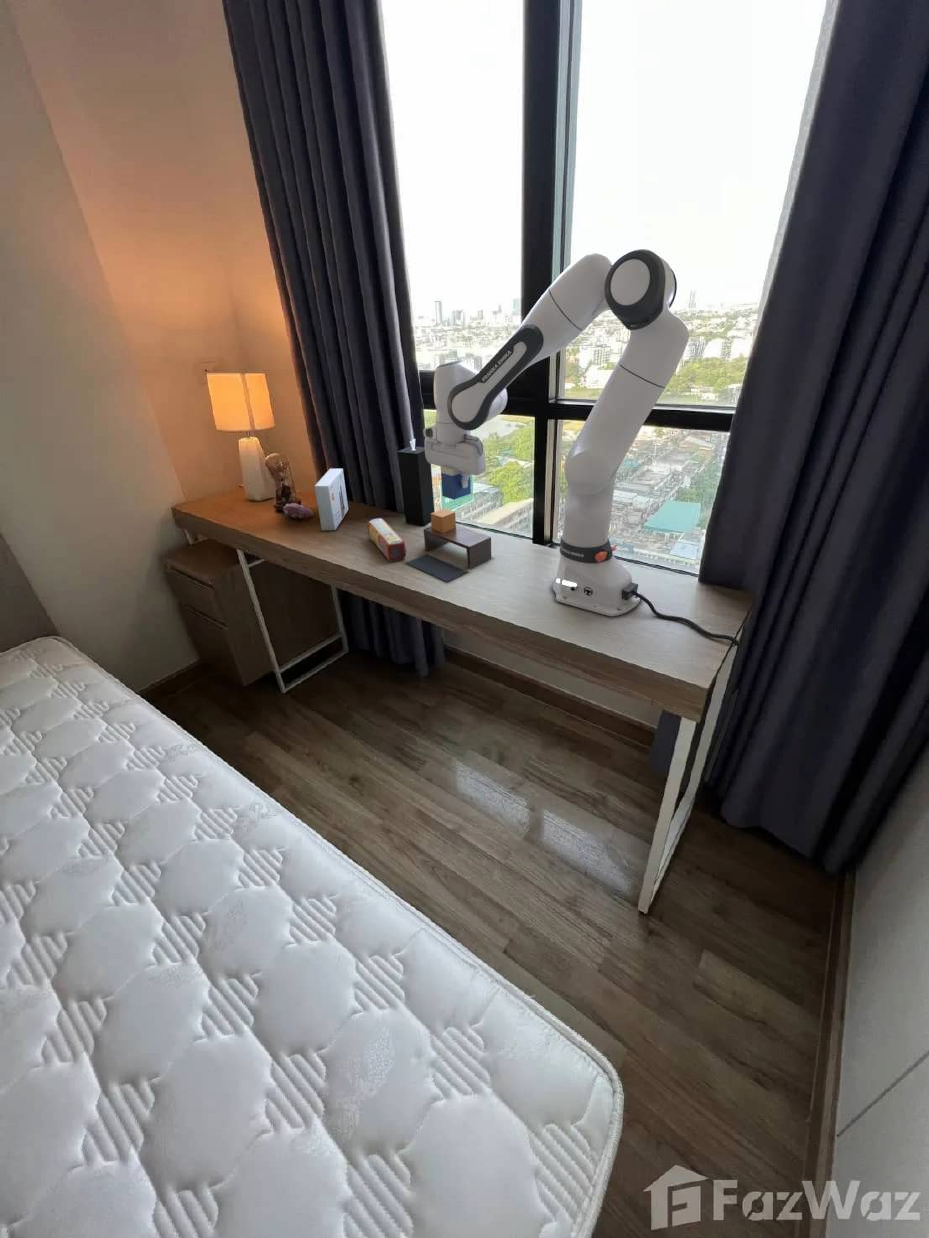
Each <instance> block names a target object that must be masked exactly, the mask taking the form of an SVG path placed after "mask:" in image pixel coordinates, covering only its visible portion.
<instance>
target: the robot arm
mask: <svg viewBox="0 0 929 1238" xmlns="http://www.w3.org/2000/svg"><path fill="white" fill-rule="evenodd" d="M677 282H678V281H677V277H676V274H675V272H674V271H673V269H672V268H671V266H670V264H669V262H668V261H667V260H666V259H665V258H664V257H662V256H661V255H660V254H657V253H656V252H655V251H652V250H650V249H647V248H635V249H632V250H630V251H628V252H624V253H623V254H622V255H621V256H620V257H618V258H617V259H616V260H615V261H614V262H613V261H612V259H611V257H610V256H608V255H607V254H606V253H604V252H602V251H600V250H595V249H593V250H592V249H591V250H589V251H586V252H585V253H583V254H582V255H581V256H579V257H578V258H577V259H576V260H574V261H573V262H572V263H571V264H570V265H569V266H568V267H567V268H566V269H565V270H564V271H563V272H562V273H560V274H559V275H558V276H557V278H556V279H555V280H554V281H553V282H552V283H551V284H550V285H549V286H548V288H547V289H546V290H545V291H544V292H543V294H541V296H540V298H539V299H538V300H537V301H536V303H535V304H534V305H533V307H531V309H530V311H529V312H528V314H526V316H525V318H524V319H523V321H522V322H521V323H520V325H519V326H518V327H517V328H516V330H515V331H514V333H513V334H512V335H511V337H510V338H509V339H508V340H507V341H506V342H505V343H504V344H503V346H502V347H501V348H500V349H499V350H498V351H497V352H496V353H495V354H494V355H493V357H492V358H490V360H489V361H488V362H487V363H485V365H484V366H483V368H481V369H480V370H479V371H478V370H476V369H475V368H473V367H471V365H469V364H468V363H467V362H466V361H465V360H459V359H458V360H453V361H450V362H446V363H442V364H440V365H438V366H437V367H436V368H435V370H434V375H433V402H434V403H433V404H434V405H435V410H436V411H435V412H436V414H435V424H434V425H431V426H428V427H425V428H423V430H422V431H423V437H425V439H424V447H425V456H426V460H427V461H428V463H430V464H431V465H434V466H439V467H440V468H441V467H442V466H448V467H452V468H456V470H457V471H460V472H461V475H462V476H463V478H462V480H461V481H459V484H460V487H461V488H467V487H468V480H469V477H470V478H471V475H472V476H479V475H482V474H485V473H486V471H487V459H486V451H485V448H484V443H483V441H482V439H480V436H476V435H472V433H471V431H475V430H477V429H479V428H480V427H481V426H482V425H484V424H485V423H487V422H489V421H491V420H492V419H494V418H496V417H497V416H499V415H500V414H501V413H502V412H504V410H505V409H506V406H507V405H508V396H509V395H508V391H507V387H508V386H509V385H510V384H512V382H513V381H514V380H515V379H516V378H517V377H518V376H519V375H520V374H521V373H522V372H523V371H525V370H527V368H529V367H530V366H532V365H534V364H536V363H538V362H541V361H542V360H544V359H547V358H549V357H551V356H553V355H555V354H557V353H559V352H560V351H562V350H563V349H564V348H566V347H567V346H568V345H570V344H571V343H572V342H574V341H575V340H576V339H577V338H578V337H579V336H580V335H581V334H582V333H583V332H584V331H585V330H586V329H587V328H588V327H589V326H590V324H591V323H593V321H595V319H597V318H598V317H599V316H600V315H601V314H603V313H605V312H606V311H611V313H612V314H613V315H614V316H615V317H616V318H617V319H618V320H619V321H620V323H621V324H622V325H623V326H624V328H625V329H626V330H628V331H630V334H629V338H628V342H627V344H626V346H625V348H624V350H623V352H622V354H621V356H620V357H619V359H618V361H617V363H616V364H615V366H614V368H613V370H612V371H611V374H610V376H609V377H608V379H607V381H606V383H605V385H604V386H603V389H602V390H601V392H600V394H599V396H598V398H597V399H596V402H595V403H594V405H593V407H592V409H591V411H590V413H589V415H588V416H587V419H586V420H585V422H584V423H583V426H582V428H581V430H580V431H579V433H578V435H577V436H576V439H575V440H574V441H573V444H572V446H571V448H570V450H569V451H568V453H567V455H566V457H565V460H564V465H563V473H564V477H565V481H566V484H567V487H566V493H565V502H564V507H563V508H564V509H563V521H562V535H561V536H560V539H559V540H560V542H559V554H560V557H559V562H558V567H557V571H556V575H555V579H554V581H553V584H552V590H553V592H554V593H555V595H556V596H555V600H556V602H558V603H561V604H565V605H568V606H572V607H576V608H579V609H582V610H585V611H590V612H593V613H596V614H599V615H604V616H608V617H617V616H621V615H624V614H626V613H628V612H630V611H631V610H633V609H634V608H635V607H637V606H638V604H639V603H640V602H641V601H643V602H644V603H645V604H647V606H648V607H649V609H650V611H651V612H652V613H653V615H655V616H656V617H658V618H660V619H665V620H670V621H678V622H682V623H686V624H687V625H689V626H690V627H692V628H693V629H695V630H696V631H698V632H699V633H701V634H703V635H705V636H707V637H710V638H714V639H721V640H728V641H730V642H732V643H733V644H734V645H735V646H736V647H739V648H741V647H742V644H741V643H740V641H739V640H738V639H737V638H735V637H733V636H731V635H727V634H722V633H721V634H720V633H714V632H710V631H708V630H705V629H704V628H702V627H701V626H699V624H697V623H695V622H694V621H692V620H690V619H687V618H685V617H682V616H676V615H667V614H664V613H661V612H659V611H657V610H656V607H655V606H654V605H653V603H652V602H651V601H650V599H648V598H647V597H646V596H643V595H642V594H641V592H640V591H639V584H638V583H635V582H633V577H632V574H631V573H630V572H629V571H628V570H627V569H626V568H625V567H624V566H623V564H622V563H620V561H619V560H618V559H617V558H616V557H615V556H614V553H613V552H614V551H616V550H617V548H618V547H617V546H618V544H614V545H613V546H612V545H611V542H610V538H609V532H610V524H611V516H612V508H613V500H614V493H615V485H616V478H617V472H618V470H619V468H620V467H621V465H622V463H623V462H624V459H625V458H626V456H627V454H628V453H629V451H630V449H631V447H632V445H633V444H634V442H635V439H636V438H637V436H638V435H639V433H640V431H641V429H642V428H643V425H644V424H645V421H646V420H647V418H648V417H649V416H650V413H651V412H652V411H653V409H654V407H655V405H656V404H657V402H658V401H659V399H660V397H661V396H662V394H663V392H664V391H665V389H666V388H667V386H668V384H669V382H670V381H671V379H672V378H673V375H674V373H675V372H676V370H677V368H678V366H679V364H680V361H681V359H682V357H683V355H684V352H685V351H686V348H687V346H688V343H689V340H690V331H689V328H688V326H687V325H686V323H685V321H683V319H682V318H680V317H679V316H678V315H675V314H674V313H673V312H672V311H671V307H672V306H673V304H674V302H675V299H676V295H677V290H678V283H677ZM738 691H739V688H737V689H736V690H735V691H734V693H732V695H731V697H730V702H729V705H728V709H727V712H726V716H725V718H724V721H723V724H722V728H721V729H720V732H719V734H718V738H717V740H716V743H715V745H714V749H713V751H712V755H711V757H710V761H709V763H708V766H707V769H706V773H705V776H704V779H703V780H704V782H709V780H710V776H711V773H712V770H713V767H714V763H715V761H716V758H717V755H718V752H719V750H720V747H721V744H722V742H723V738H724V736H725V734H726V731H727V728H728V725H729V722H730V720H731V717H732V713H733V710H734V707H735V703H736V700H737V696H738Z"/></svg>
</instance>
